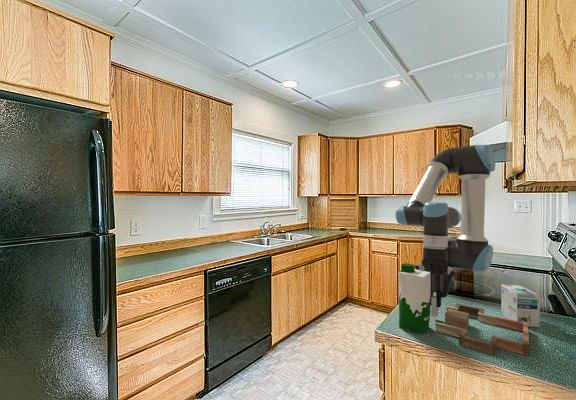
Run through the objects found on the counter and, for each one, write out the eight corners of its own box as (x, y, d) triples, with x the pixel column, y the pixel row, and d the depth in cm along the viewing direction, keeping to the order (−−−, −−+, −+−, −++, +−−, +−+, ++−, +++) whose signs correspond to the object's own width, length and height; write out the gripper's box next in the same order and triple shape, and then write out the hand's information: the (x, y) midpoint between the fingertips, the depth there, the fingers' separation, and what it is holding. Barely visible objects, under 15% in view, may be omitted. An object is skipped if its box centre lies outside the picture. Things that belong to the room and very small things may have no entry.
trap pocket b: (462, 338, 87) (462, 329, 87) (496, 347, 82) (496, 338, 82) (459, 345, 83) (459, 336, 83) (495, 355, 78) (495, 345, 78)
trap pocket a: (456, 310, 109) (456, 303, 109) (483, 316, 103) (483, 309, 103) (454, 314, 105) (454, 307, 105) (482, 320, 99) (482, 313, 99)
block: (448, 320, 100) (448, 308, 100) (468, 325, 96) (468, 313, 96) (444, 326, 96) (444, 314, 96) (465, 331, 92) (466, 319, 92)
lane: (447, 312, 106) (447, 306, 106) (527, 331, 92) (527, 323, 92) (435, 331, 92) (435, 323, 92) (528, 356, 77) (529, 346, 77)
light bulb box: (540, 328, 94) (540, 294, 94) (516, 326, 95) (517, 293, 95) (521, 314, 105) (521, 285, 104) (500, 313, 106) (500, 283, 106)
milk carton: (404, 319, 101) (405, 261, 100) (433, 326, 95) (433, 265, 95) (395, 327, 94) (395, 266, 94) (425, 336, 88) (425, 270, 88)
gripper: (412, 246, 101) (411, 314, 101) (454, 251, 93) (454, 324, 93) (418, 243, 107) (417, 307, 107) (458, 247, 99) (458, 317, 99)
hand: (434, 315), depth 100 cm, fingers closed
